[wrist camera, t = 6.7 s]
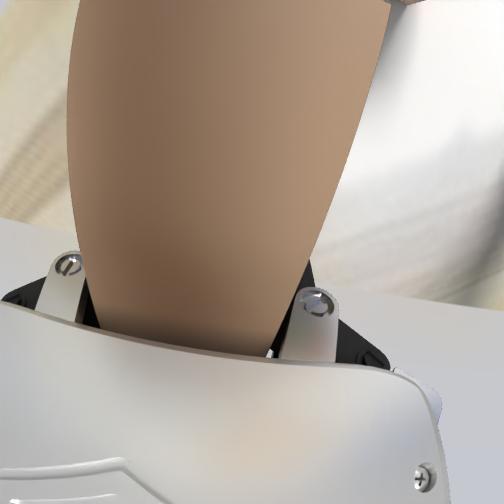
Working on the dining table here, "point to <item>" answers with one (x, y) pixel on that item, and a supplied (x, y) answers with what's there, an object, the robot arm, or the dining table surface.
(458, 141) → the dining table surface
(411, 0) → the stack of blocks
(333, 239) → the dining table surface
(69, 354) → the robot arm
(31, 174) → the dining table surface
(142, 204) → the long brown block
